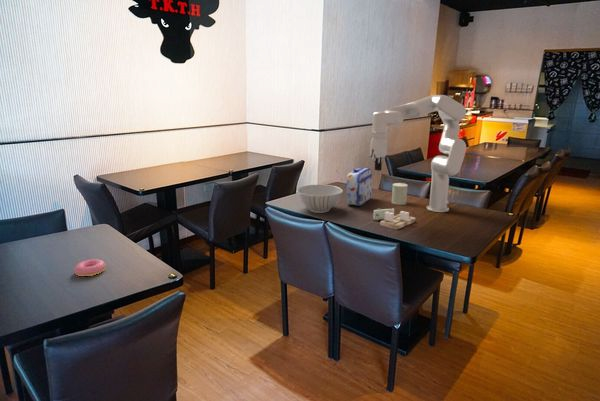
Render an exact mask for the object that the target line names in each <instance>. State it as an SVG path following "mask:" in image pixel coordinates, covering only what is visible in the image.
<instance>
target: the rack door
mask: <svg viewBox="0 0 600 401" xmlns="http://www.w3.org/2000/svg"><path fill="white" fill-rule="evenodd" d="M385 212H391V213H392V208H384V209H383V208H382V209H381V210H377V209H374V210H373V215H372V216H373V221H374V220H376V221H377V220H384V218H385Z"/></svg>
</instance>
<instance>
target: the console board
mask: <svg viewBox="0 0 600 401" xmlns="http://www.w3.org/2000/svg"><path fill="white" fill-rule="evenodd" d="M415 222H416V217H413V216H409V220H407V221H405V220H401V219H400V213H399V214H398V213H397V214H396V215H395V214H394V221H387V220H384V219H382V220H381V221H380V222H379V225H380V226H381V227H386V228H388V229H392V230H393V229H394V230H396V231H397V230H399V229H401V228H403V227H406V226H408V225H410V224H413V223H415Z"/></svg>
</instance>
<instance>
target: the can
mask: <svg viewBox="0 0 600 401" xmlns="http://www.w3.org/2000/svg"><path fill="white" fill-rule="evenodd" d="M407 195H408V184H406V183H405V182H394V183H392V192H391V204H394V205H398V206H399V205H402V206H403V205H407V200H408V196H407Z"/></svg>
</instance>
